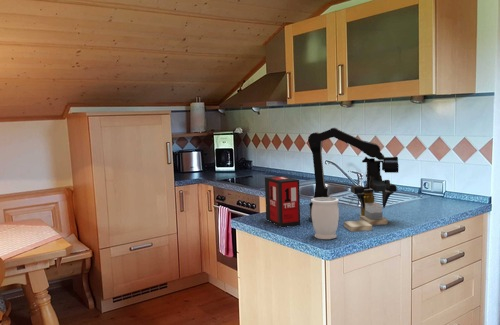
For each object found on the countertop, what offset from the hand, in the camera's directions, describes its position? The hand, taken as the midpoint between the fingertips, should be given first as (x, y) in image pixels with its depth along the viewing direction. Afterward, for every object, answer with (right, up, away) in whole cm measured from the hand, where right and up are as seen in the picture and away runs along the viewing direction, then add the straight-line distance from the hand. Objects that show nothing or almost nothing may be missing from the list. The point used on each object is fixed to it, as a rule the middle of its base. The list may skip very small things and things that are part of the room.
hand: (373, 208), depth 192 cm
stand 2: (0, -6, +1) cm, 6 cm away
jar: (-24, -9, -19) cm, 32 cm away
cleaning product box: (-39, -7, +6) cm, 40 cm away
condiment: (+2, -5, +14) cm, 15 cm away
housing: (0, -4, 0) cm, 4 cm away
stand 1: (-9, -8, -8) cm, 14 cm away
